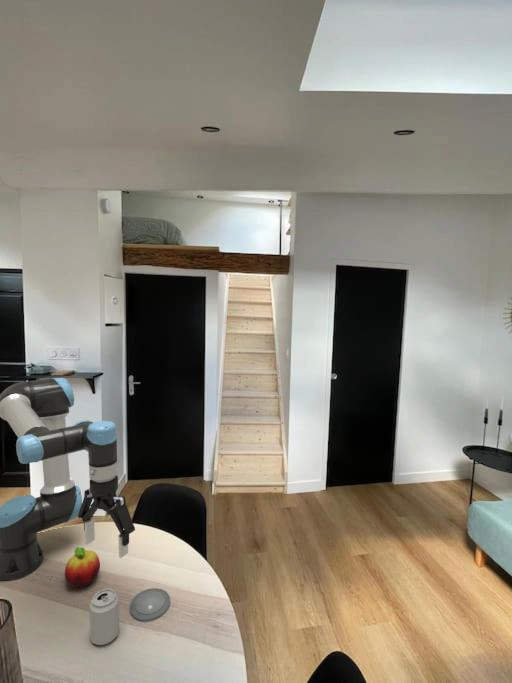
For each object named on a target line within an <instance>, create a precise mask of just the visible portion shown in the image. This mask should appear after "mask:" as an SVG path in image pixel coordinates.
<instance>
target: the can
mask: <svg viewBox="0 0 512 683" xmlns="http://www.w3.org/2000/svg"><path fill="white" fill-rule="evenodd" d="M119 599H120V598H119V595H118V594H117V592H116V591H115V590H114V589H113V588H103V589H101V590H98V592H96V593H95V594H94V595H93V597H92V598H91V600H90V603H89V624H90V625H89V628H90V630H89V632H90V641H91V643H93V644H95V645H97V646H105V645H107V644H108V645H109V643H111V642H113V640H115V638H117V637H118V634H119V633H120V607H119V606H120V605H119V604H120V602H119Z"/></svg>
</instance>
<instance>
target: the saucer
mask: <svg viewBox="0 0 512 683" xmlns="http://www.w3.org/2000/svg"><path fill="white" fill-rule="evenodd" d="M170 605H171V597H170V595H169V593H168V591H166V590H165V589H162V588H155V587H152V588H148V589H144V590H142V591H140V592H139V593H137V594H136V595H135V596H134V597H133V598H132V600H131V601H130V603H129V613H130V616H131V617H132V618H133V619H134V620H137V621H139V622H151V621H152V622H153V621H155V620H157V619H159V618H161V617H162V616H164V614H166V612H167V611H168V610H169V608H170V607H171V606H170Z"/></svg>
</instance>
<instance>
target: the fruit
mask: <svg viewBox="0 0 512 683" xmlns="http://www.w3.org/2000/svg"><path fill="white" fill-rule="evenodd" d="M73 553H74V554H73V555H72V556H71V557H70V558H69V560H68V561H67V563H66V566H65V569H64V577H65V580H66V582H67V583H68V584H69V585H70V586H71V587H74V588H84V587H86V586H88V585H90V584H91V583H92V582H94V581H95V579H96V578H97V576H98V575H99V572H100V568H101V561H100V558H99V555H98V554H97V553H96V552H95V551H94V550H90V549H87V550H85V548H84V547H80V546H77V547H76V548H75V549H74V550H73Z"/></svg>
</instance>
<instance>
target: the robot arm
mask: <svg viewBox="0 0 512 683" xmlns="http://www.w3.org/2000/svg"><path fill="white" fill-rule="evenodd" d="M74 404H75V395H74V390H73V388H72V385H71V384H70V382H69V381H68V379H67V378H65V377H52V378H51V377H50V378H44V379H36V380H28V381H20V382H16V383H13V384H12V385H10V386H8V387H6V388H5V389H4V390H3V391H2V392H1V393H0V418H1V419H2V420H4V421H6V422H7V423H8V425H9V426H10V428H11V429H12V431H13V432H14V433H15V436H17V440H16V444H15V447H16V450H15V451H16V456H17V458H18V462H19V463H20V464H23V465H26V464H31V463H39V462H40V461H41V463H42V473H43V486H42V487H41V488H40V489H39V496H38V497H35V496H34V495H33V494H32V495H31V494H26V495H24V494H22V495H19V496H16V497H13V498H11V499H9V500H7V501H5V502H4V503H3V504H1V505H0V581H3V580H8V581H13V579H14V580H18V579H21V578H24V577H26V576H28V575H29V574H31V572H32V573H33V572H35V571H36V570H37V569H38V568H40V566H41V565H42V563H43V561H44V551H43V549H42V546H41V545H40V543H39V540H38V536H37V533H39V532H42V531H45V530H48V529H50V528H54V527H56V526H59V525H61V524H66V523H68V522H69V521H72V520H75V519H76V518H79V519H81V520H82V522H83V530H84V541H85V542H84V543H85V545H89V544H90V543H92V542H94V541H95V539H96V537H95V536H96V535H95V534H96V533H95V532H96V531H95V519H94V518H93V517H94V515H95V514H96V512H97V511H98V510H101V511H104V512H106V513H107V515H109V516H110V517H111V519H112V521H113V523H114V524H115V526H116V528H117V530H118V532H119V534H118V535H117V538H118V557H119V558H120V559H122V558H123V557H125V556H126V555H127V554H129V544H130V535H131V534H132V533H133V532H135V531H136V527H135V525H134V522H133V519H132V516H131V515H130V514H131V513H130V512H129V509H128V505H127V501H126V497H125V496H121V497H118V496H117V490H118V488H119V476H118V473H119V468H118V467H119V466H118V465H119V464H118V442H117V440H118V433H117V425H116V423H115V422H114V421H110V420H109V421H108V420H100V421H96V422H93V421H90V420H88V419H87V420H83V419H82V420H80V421H77V422H76V423H75V424H73V425H71V426H67V423H66V417H68V415H69V413H70V408H72V407H73V406H74ZM80 451H86V452H88V454H87V455H88V456H87V457H88V468H89V469H88V473H89V488H88V489H84V492H83V493H84V496H82V491H81V488H80V487H79V486H78V485H76V483H75V482H74V481H73V480H71V478H70V477H71V476H70V463H69V454H73V453H76V452H80ZM23 576H24V577H23ZM20 577H21V578H20ZM17 578H18V579H17ZM11 579H12V580H11Z"/></svg>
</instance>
